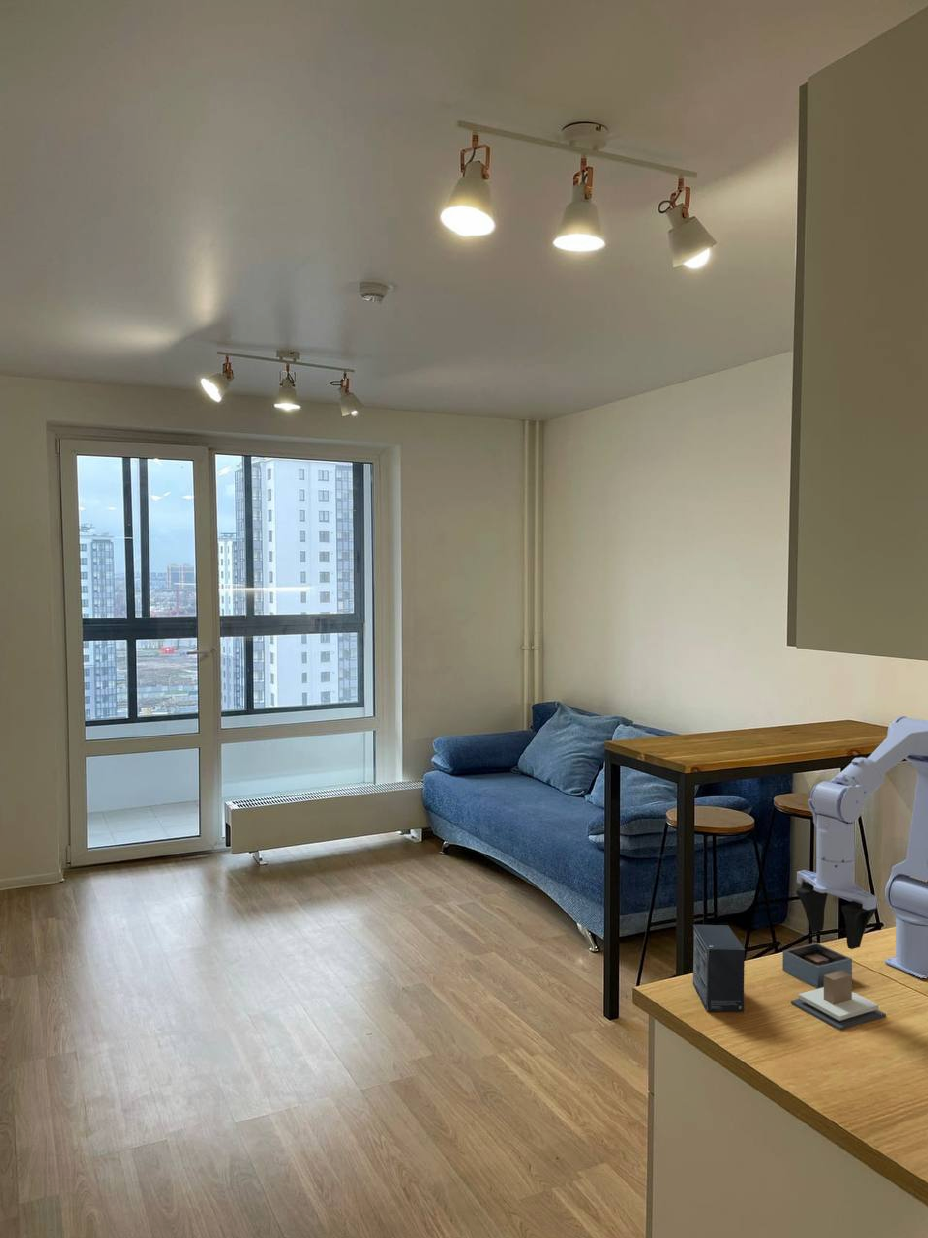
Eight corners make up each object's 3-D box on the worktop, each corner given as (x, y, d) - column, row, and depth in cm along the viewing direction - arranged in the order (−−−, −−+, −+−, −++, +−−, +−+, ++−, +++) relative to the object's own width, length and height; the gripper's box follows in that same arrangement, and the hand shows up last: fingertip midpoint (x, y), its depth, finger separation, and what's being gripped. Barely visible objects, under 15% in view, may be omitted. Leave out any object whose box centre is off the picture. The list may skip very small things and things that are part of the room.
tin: (815, 961, 166) (816, 942, 166) (851, 978, 159) (852, 958, 159) (782, 969, 163) (782, 950, 162) (817, 988, 155) (817, 967, 155)
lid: (836, 991, 153) (836, 959, 153) (878, 1012, 146) (878, 979, 146) (798, 1001, 150) (798, 969, 150) (839, 1024, 142) (839, 990, 142)
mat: (835, 990, 154) (835, 988, 154) (885, 1016, 145) (885, 1013, 145) (790, 1003, 150) (790, 1000, 150) (839, 1030, 141) (839, 1027, 141)
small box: (747, 1012, 147) (747, 948, 147) (706, 1012, 147) (706, 948, 147) (729, 983, 158) (729, 923, 157) (691, 983, 158) (691, 923, 157)
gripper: (783, 848, 155) (783, 927, 155) (854, 873, 142) (853, 960, 142) (814, 842, 158) (814, 920, 158) (886, 866, 145) (885, 951, 145)
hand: (834, 938), depth 151 cm, fingers open, 7 cm apart
